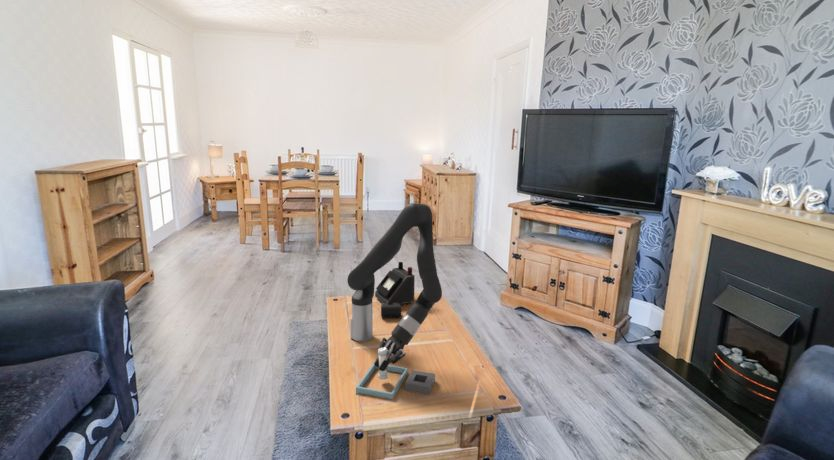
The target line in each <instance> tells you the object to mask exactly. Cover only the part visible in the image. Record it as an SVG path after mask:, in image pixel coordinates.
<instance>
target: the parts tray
mask: <svg viewBox="0 0 834 460" xmlns="http://www.w3.org/2000/svg"><path fill="white" fill-rule="evenodd" d="M374 363H375V362H373V363H372V364H371V366H370V368H369V369H368V370H367V371H366V373H365V374H364V376H363V377H362V378H361V380H359V382H358V384H357V385H356V386H355V395H356V396H358V394H363V395H367V396H371V397H377V398H384V399H389V400H394V398H395V397H396V394H397V393H398V391H399V389H400V388H401V385H402V384H403V382H404V381H405V379H406V377H407V375H408V372H409V368H408V367H403V366H398V365H393V364H389V365H388V366H387V372H393V373H399V374H401V375H400V376H399V379H398V381H397V382H396V384H395V386H394V388H393V389H392V390H391V392H390V391H384V390H380V389H379V390H378V389H375V388H374V389H373V388H368V387H364V386H365V384H366V383H367V382H368V380H369V379H370V377H371V376H372V375H373V374H374V371H375V370H379V367H377V366H375V365H374Z"/></svg>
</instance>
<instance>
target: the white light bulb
mask: <svg viewBox="0 0 834 460" xmlns="http://www.w3.org/2000/svg"><path fill="white" fill-rule="evenodd" d="M377 354H378V357H379V366H380V365H381V364H382V362H383V361H384V360H385V359H386V357H387V354H388V349H387V348H379V347H378V349H377ZM377 377H378V379H379V380H387V379H388V378H389V372H388V371H387V367H386V369H385V370H384V371H381V370H380V369H378V375H377Z"/></svg>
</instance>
